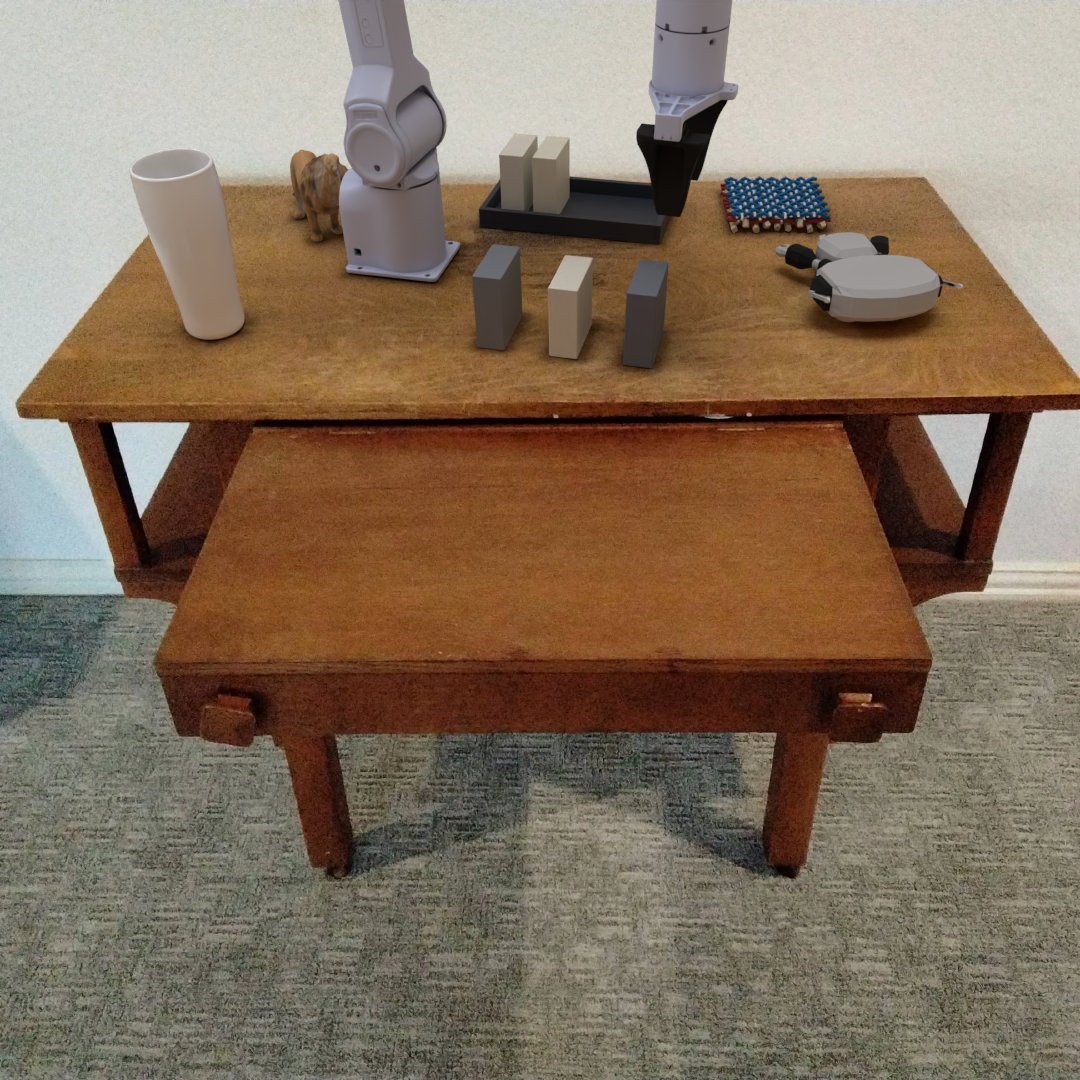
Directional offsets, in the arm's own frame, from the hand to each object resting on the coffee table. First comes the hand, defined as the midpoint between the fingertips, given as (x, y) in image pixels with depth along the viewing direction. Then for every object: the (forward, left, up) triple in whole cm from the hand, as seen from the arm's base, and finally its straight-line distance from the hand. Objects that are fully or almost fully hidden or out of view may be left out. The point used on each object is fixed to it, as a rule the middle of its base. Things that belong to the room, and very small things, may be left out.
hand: (678, 195), depth 84 cm
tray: (-12, +16, -10) cm, 22 cm away
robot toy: (+17, +4, -10) cm, 20 cm away
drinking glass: (-39, -14, -10) cm, 43 cm away
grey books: (-7, -9, -10) cm, 15 cm away
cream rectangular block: (-7, -9, -10) cm, 15 cm away
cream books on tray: (-17, +16, -9) cm, 25 cm away
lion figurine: (-38, +8, -10) cm, 40 cm away
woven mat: (+8, +21, -10) cm, 24 cm away
